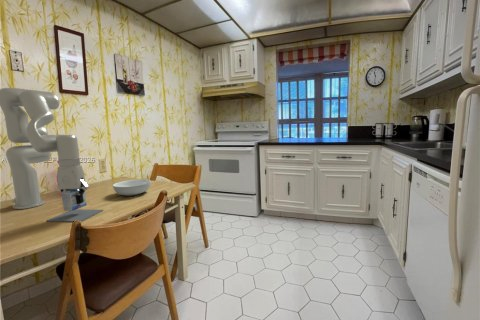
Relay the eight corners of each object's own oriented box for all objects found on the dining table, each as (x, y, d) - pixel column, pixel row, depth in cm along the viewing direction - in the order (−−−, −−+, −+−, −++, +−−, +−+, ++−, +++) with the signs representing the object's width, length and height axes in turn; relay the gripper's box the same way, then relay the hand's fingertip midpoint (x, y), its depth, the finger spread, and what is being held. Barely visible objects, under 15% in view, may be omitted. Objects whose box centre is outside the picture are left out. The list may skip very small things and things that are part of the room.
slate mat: (46, 221, 101) (46, 220, 101) (73, 210, 115) (73, 209, 115) (80, 222, 99) (80, 221, 99) (103, 210, 113) (103, 209, 113)
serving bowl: (155, 188, 154) (154, 178, 153) (144, 197, 133) (143, 185, 132) (122, 190, 152) (121, 179, 151) (106, 199, 132) (105, 187, 131)
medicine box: (71, 211, 102) (69, 191, 101) (63, 210, 103) (60, 191, 102) (87, 205, 110) (84, 187, 109) (78, 205, 111) (76, 186, 110)
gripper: (44, 164, 101) (50, 205, 103) (80, 164, 99) (85, 206, 101) (59, 162, 108) (65, 200, 111) (93, 161, 106) (98, 200, 109)
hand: (74, 202), depth 106 cm, fingers closed on medicine box, 4 cm apart
